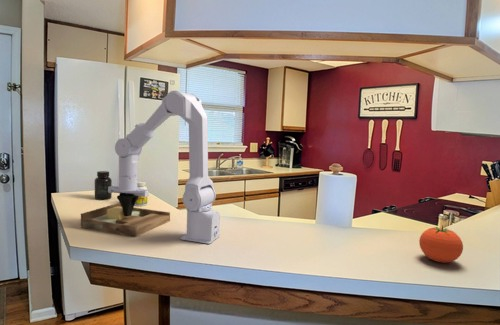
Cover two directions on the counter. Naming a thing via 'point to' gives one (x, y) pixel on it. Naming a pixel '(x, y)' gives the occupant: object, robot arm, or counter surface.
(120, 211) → the block
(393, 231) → the counter surface
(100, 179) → the supplement bottle
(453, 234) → the tomato
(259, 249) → the counter surface
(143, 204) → the supplement bottle
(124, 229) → the box
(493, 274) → the counter surface
